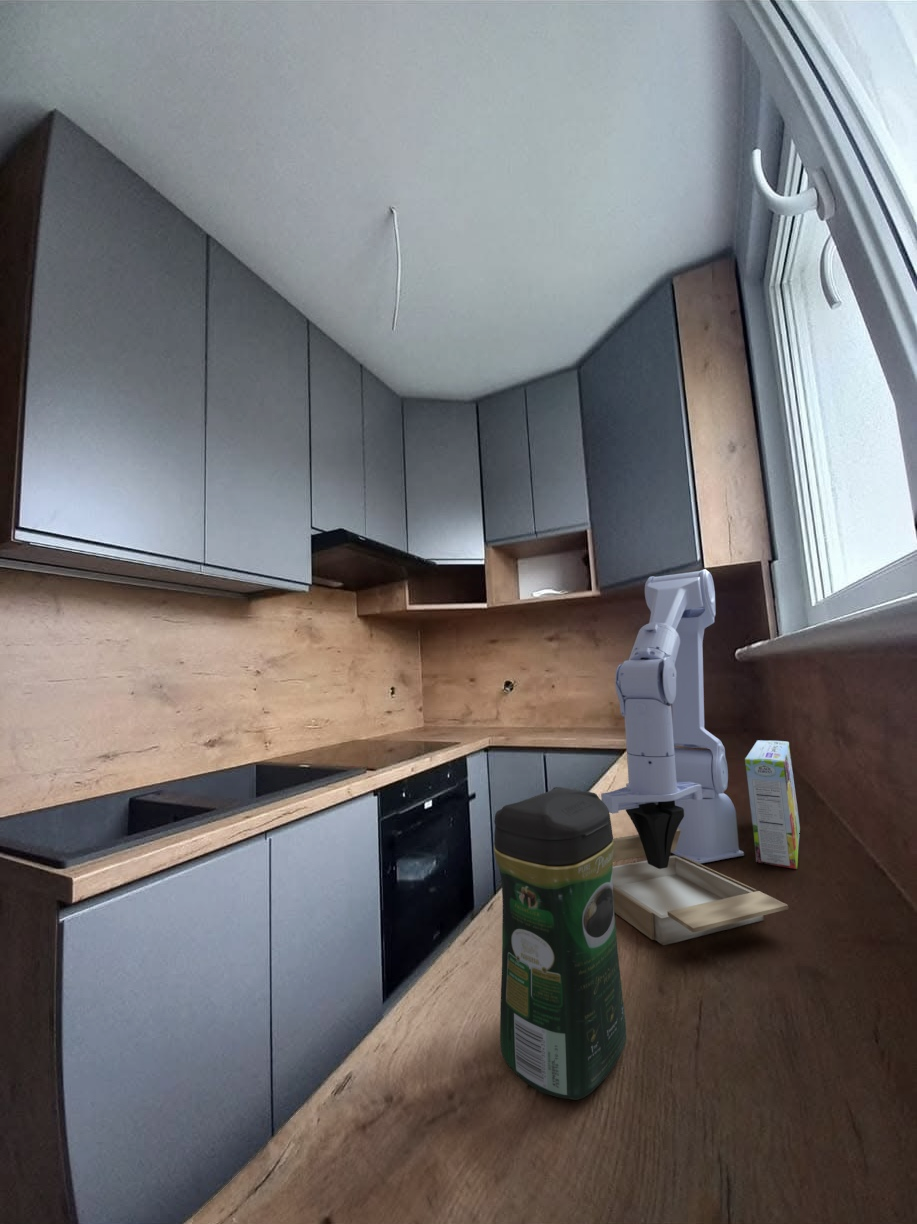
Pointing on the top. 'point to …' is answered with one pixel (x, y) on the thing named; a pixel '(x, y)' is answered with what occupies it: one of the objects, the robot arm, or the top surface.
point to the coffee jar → (559, 942)
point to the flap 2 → (726, 911)
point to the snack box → (773, 803)
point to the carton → (670, 896)
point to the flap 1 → (634, 847)
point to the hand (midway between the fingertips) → (657, 865)
